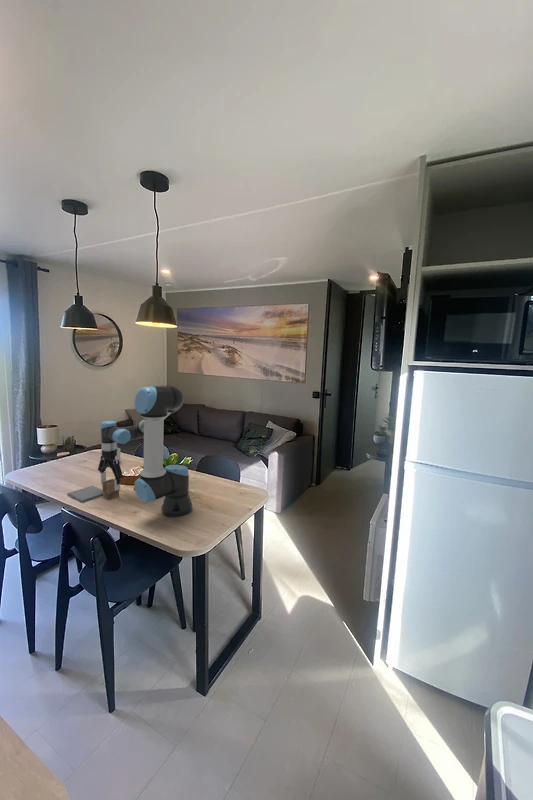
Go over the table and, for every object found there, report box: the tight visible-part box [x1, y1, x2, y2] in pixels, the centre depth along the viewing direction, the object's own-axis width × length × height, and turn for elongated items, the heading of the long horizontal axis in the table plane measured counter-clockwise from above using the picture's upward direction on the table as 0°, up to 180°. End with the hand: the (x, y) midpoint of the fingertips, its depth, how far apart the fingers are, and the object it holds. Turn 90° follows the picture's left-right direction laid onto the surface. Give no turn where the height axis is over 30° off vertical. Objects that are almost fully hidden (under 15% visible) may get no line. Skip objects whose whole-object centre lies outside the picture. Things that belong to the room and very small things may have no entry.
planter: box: [100, 447, 121, 466], centre depth 230 cm, size 12×12×11 cm
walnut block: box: [101, 478, 120, 501], centre depth 177 cm, size 6×6×9 cm
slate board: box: [66, 485, 103, 504], centre depth 180 cm, size 16×14×1 cm
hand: (110, 486), depth 177 cm, fingers open, 13 cm apart
